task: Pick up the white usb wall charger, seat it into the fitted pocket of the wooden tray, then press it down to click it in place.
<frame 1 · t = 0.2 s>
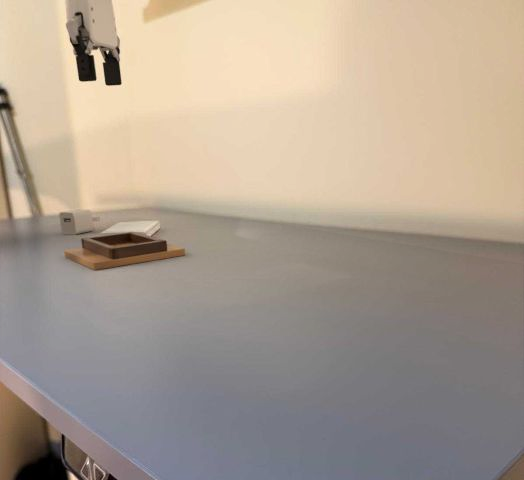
hand: (101, 83, 100), 26 cm above the table, tool pointing down, fingers open, 9 cm apart
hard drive: (132, 236, 99), on the table
usb wall charger: (83, 232, 104), on the table
wooden tray: (124, 256, 81), on the table
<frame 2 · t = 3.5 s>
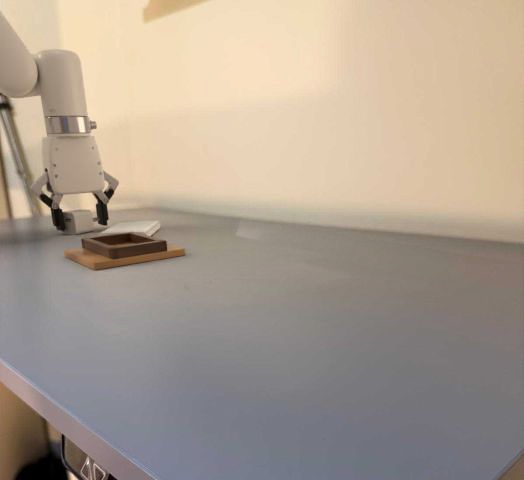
hand: (82, 226, 103), 1 cm above the table, tool pointing down, fingers closed on usb wall charger, 7 cm apart
usb wall charger: (84, 232, 104), on the table, touching gripper
everything else where it was.
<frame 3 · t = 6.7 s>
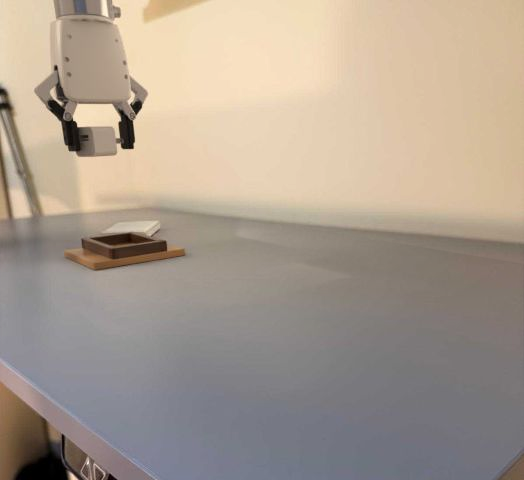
hand: (101, 149, 80), 15 cm above the table, tool pointing down, fingers closed on usb wall charger, 7 cm apart
usb wall charger: (103, 157, 80), point 14 cm above the table, touching gripper
everything else where it was.
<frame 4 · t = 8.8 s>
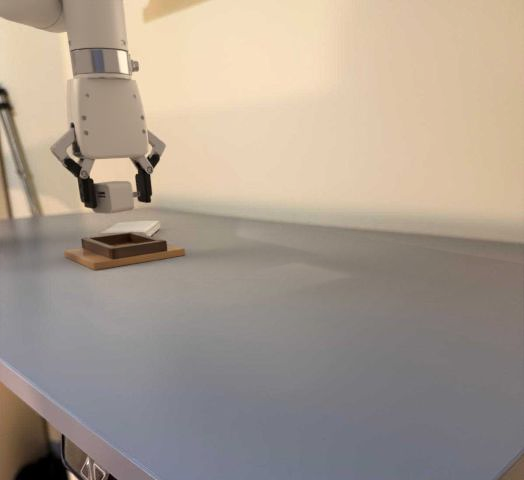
hand: (118, 204, 78), 8 cm above the table, tool pointing down, fingers closed on usb wall charger, 7 cm apart
usb wall charger: (120, 211, 78), point 6 cm above the table, touching gripper
everything else where it was.
when the fingers open (3 cm above the table, at t = 10.2 s): usb wall charger stays where it is, resting on wooden tray.
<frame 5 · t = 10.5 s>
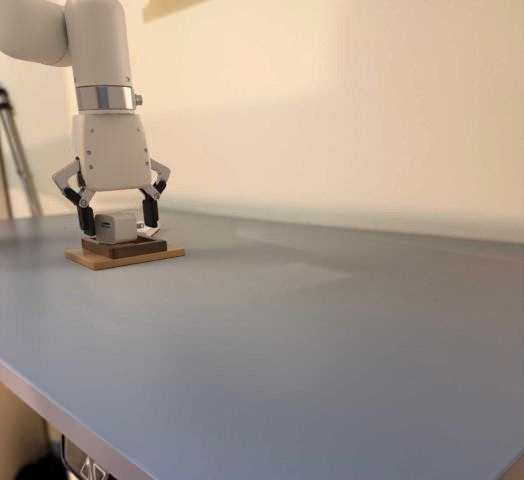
hand: (121, 230, 79), 4 cm above the table, tool pointing down, fingers open, 9 cm apart
usb wall charger: (123, 242, 80), point 2 cm above the table, touching wooden tray
everything else where it was.
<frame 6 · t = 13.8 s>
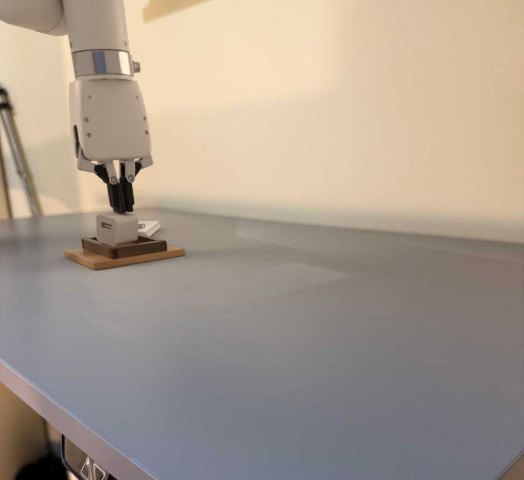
hand: (123, 211, 78), 7 cm above the table, tool pointing down, fingers closed
usb wall charger: (123, 241, 80), point 2 cm above the table, touching wooden tray, gripper
everything else where it was.
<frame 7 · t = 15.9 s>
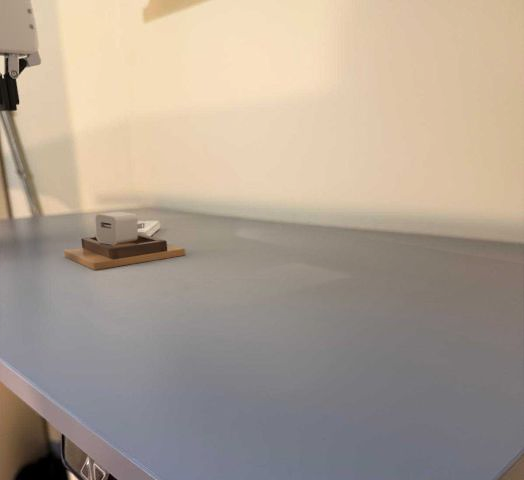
hand: (8, 110, 76), 21 cm above the table, tool pointing down, fingers closed
usb wall charger: (123, 241, 80), point 2 cm above the table, touching wooden tray
everything else where it was.
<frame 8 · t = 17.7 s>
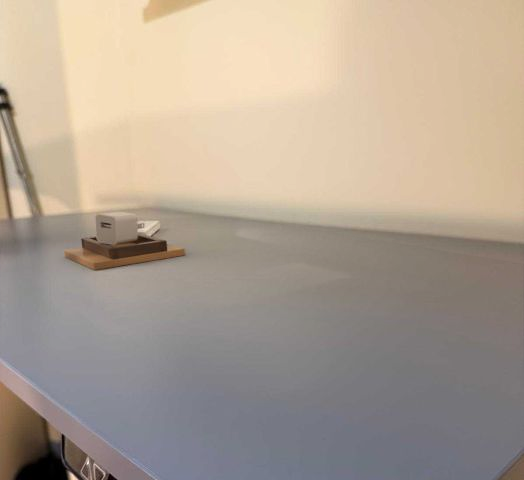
nothing on the table moved.
at the end: usb wall charger 0.1 cm off-centre on the wooden tray, point 2.1 cm above the wooden tray's base; usb wall charger tilted 5°; the gripper is holding nothing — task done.
